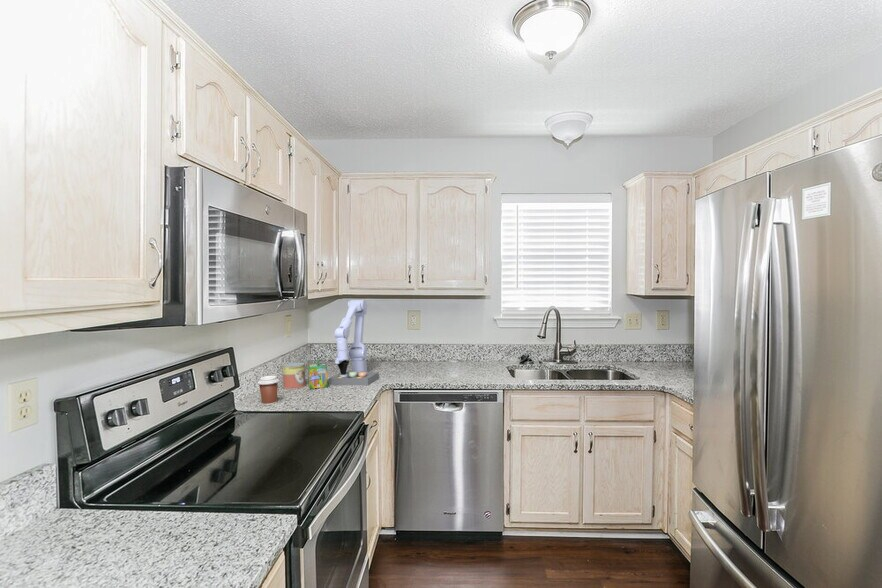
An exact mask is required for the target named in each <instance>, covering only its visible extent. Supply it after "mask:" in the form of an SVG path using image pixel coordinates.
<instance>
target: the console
mask: <svg viewBox="0 0 882 588" xmlns="http://www.w3.org/2000/svg"><path fill="white" fill-rule="evenodd" d="M349 372H350V371H346V374H347V377H340V374H341V372H340V373H338V374H335V375H333V376H330V377H329V379H328V384H329V385H331V386H332V385H334V386H335V385H337V386H338V385H339V386H340V385H341V386H342V385H343V386H369V385H370V384H373V383H374V382H376V381H377V380H379V378H380V373H379V372H376V371H367V372H366V377H359V372H357V376H356V377H349ZM329 385H328V386H329Z"/></svg>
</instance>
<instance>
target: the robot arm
mask: <svg viewBox="0 0 882 588" xmlns="http://www.w3.org/2000/svg"><path fill="white" fill-rule="evenodd" d="M367 307H368V305H367V301H366V300H365V299H349V300H348V302H347V311H346V315H345V317H343V318H342V320H341V322H340V323H339V325H338V327H337V328H336V329H335V330H334V334H333V335H334V339H335V342H336V353H337V354H336V356H337V357H335V359H334V363H335V364H336V365H337V367H338V369H339V372H340V373H341V375H345V374H346V372H348V366H349V363H350V361H351V368H352V369H351V370H352V371H351V372H368V370H367V369H368V366H367V365H368V364H367V360H366V358H367V357H368V349H367V347H368V346H367V345H365V344H364V343H363V340H364V337H363V336H364V322H365V315H366V314H367V309H368V308H367ZM354 316H355V317H354ZM353 318H355V321H354V322H355V323H354V335H353V343H352V344H351V345H350V346H349V345H348V344H349V343H348V338H349V336H350V331H351V330H350V329H351V326H352V325H353V320H352V319H353ZM348 346H349V348H348Z"/></svg>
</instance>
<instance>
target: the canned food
mask: <svg viewBox="0 0 882 588" xmlns="http://www.w3.org/2000/svg"><path fill="white" fill-rule="evenodd" d="M305 365H306V364H305V362H301V361H300V362H289V363H284V364H282V365H281V366H282V380H283V382H282V383H283V385H282V386H283V389H284V388H285V389H284V390H298V389H297V388H299V389H303V388H305V387H306V386H307V385H306V368H305ZM304 386H305V387H304ZM302 387H303V388H302Z"/></svg>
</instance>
